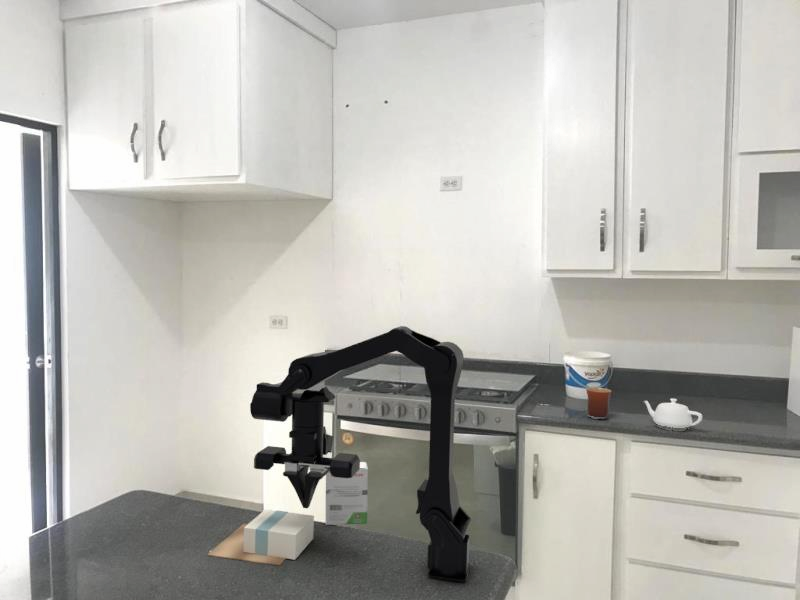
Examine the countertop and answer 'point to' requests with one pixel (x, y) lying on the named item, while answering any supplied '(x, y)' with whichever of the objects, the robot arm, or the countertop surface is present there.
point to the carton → (278, 534)
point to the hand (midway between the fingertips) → (306, 507)
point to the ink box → (347, 498)
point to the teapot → (673, 415)
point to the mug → (598, 402)
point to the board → (241, 550)
